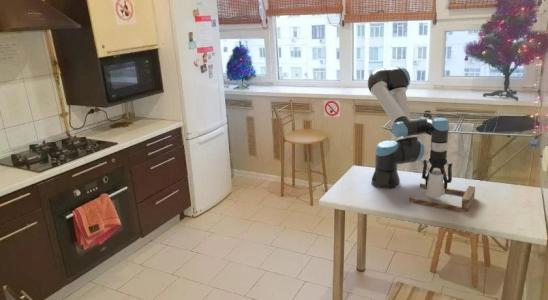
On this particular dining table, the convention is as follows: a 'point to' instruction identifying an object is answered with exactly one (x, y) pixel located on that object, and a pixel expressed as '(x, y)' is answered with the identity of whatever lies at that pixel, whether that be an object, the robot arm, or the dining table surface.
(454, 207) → the guide lane
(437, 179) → the mug
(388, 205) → the dining table surface
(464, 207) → the end stop
